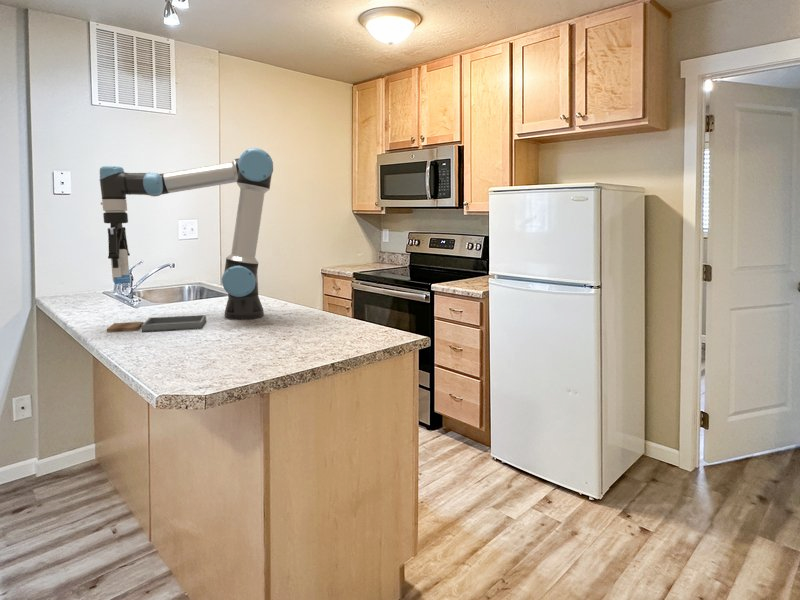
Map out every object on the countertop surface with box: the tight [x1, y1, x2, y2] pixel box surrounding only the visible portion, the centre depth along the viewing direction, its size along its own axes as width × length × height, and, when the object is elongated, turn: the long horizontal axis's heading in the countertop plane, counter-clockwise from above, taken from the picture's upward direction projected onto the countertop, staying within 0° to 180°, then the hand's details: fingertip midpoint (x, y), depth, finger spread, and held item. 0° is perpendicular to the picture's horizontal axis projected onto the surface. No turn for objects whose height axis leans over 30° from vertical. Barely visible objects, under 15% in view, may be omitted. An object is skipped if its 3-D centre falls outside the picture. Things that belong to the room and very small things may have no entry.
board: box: [106, 321, 145, 333], centre depth 192 cm, size 10×10×1 cm
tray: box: [140, 314, 207, 333], centre depth 194 cm, size 20×14×2 cm
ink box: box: [111, 249, 131, 285], centre depth 188 cm, size 8×5×15 cm, turn 33°
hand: (121, 275), depth 189 cm, fingers closed on ink box, 9 cm apart
